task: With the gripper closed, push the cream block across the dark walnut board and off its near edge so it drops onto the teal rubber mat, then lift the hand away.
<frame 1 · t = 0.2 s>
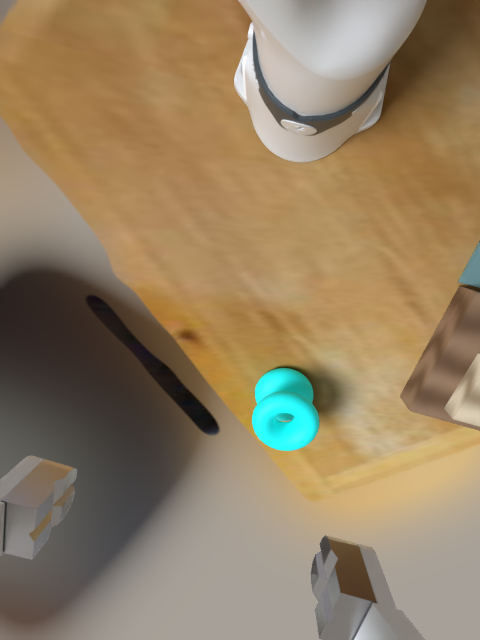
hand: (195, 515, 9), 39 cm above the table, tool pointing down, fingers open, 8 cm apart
walnut board: (476, 358, 47), on the table
donuts: (283, 389, 53), on the table
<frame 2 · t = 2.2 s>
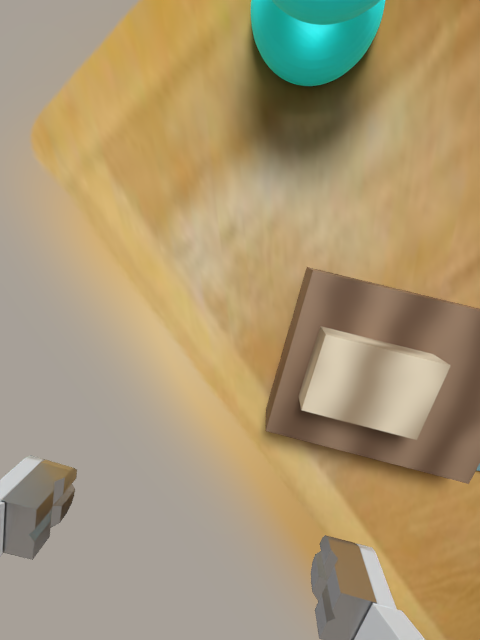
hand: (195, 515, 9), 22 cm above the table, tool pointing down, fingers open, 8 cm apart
walnut board: (379, 366, 30), on the table
cream block: (363, 375, 27), point 4 cm above the table, touching walnut board
donuts: (312, 23, 24), on the table
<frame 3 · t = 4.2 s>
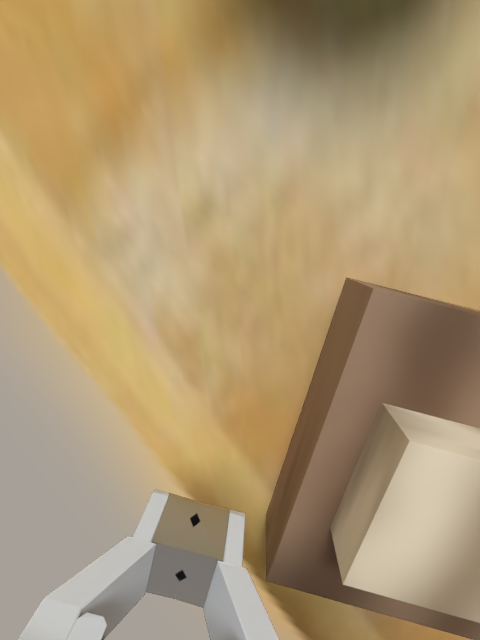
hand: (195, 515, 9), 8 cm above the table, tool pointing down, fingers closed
walnut board: (470, 454, 17), on the table
cream block: (463, 498, 13), point 4 cm above the table, touching walnut board
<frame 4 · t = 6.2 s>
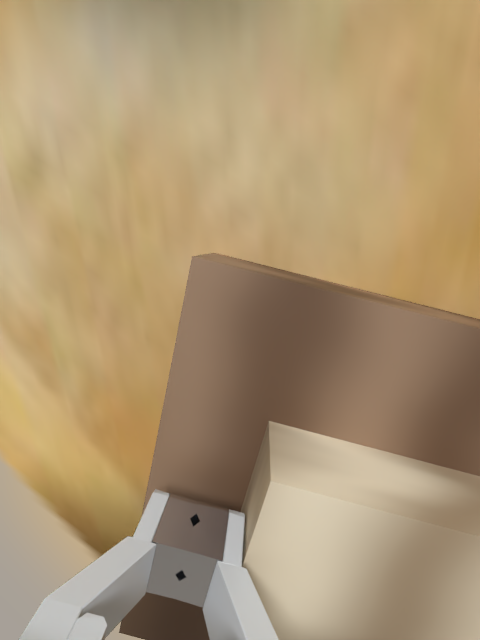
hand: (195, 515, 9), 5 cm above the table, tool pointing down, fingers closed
walnut board: (380, 469, 14), on the table
cream block: (380, 542, 10), point 4 cm above the table, touching walnut board
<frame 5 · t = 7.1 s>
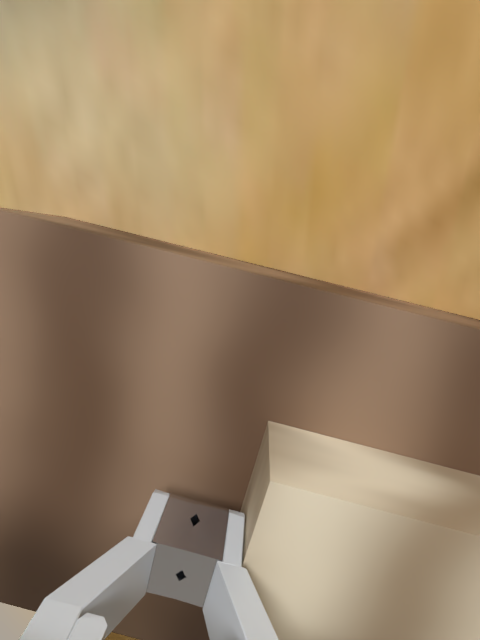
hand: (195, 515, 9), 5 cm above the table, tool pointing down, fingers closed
walnut board: (251, 436, 14), on the table
cream block: (381, 542, 10), point 4 cm above the table, touching gripper
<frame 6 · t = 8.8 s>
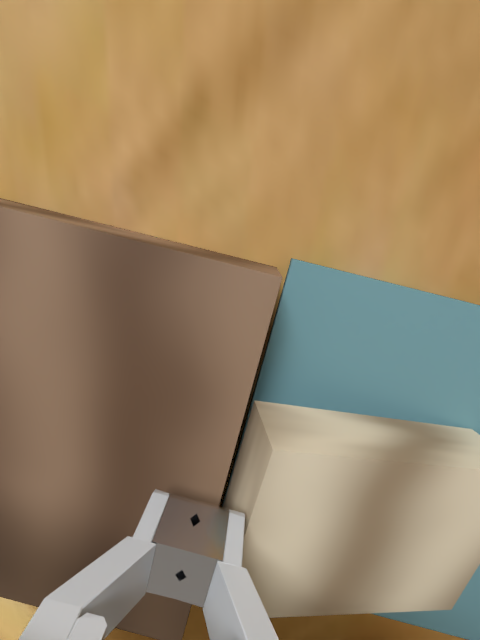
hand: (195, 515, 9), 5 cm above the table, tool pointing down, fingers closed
walnut board: (35, 378, 14), on the table
teal mat: (403, 473, 14), on the table
cream block: (344, 485, 13), point 2 cm above the table, tilted 14°, touching gripper
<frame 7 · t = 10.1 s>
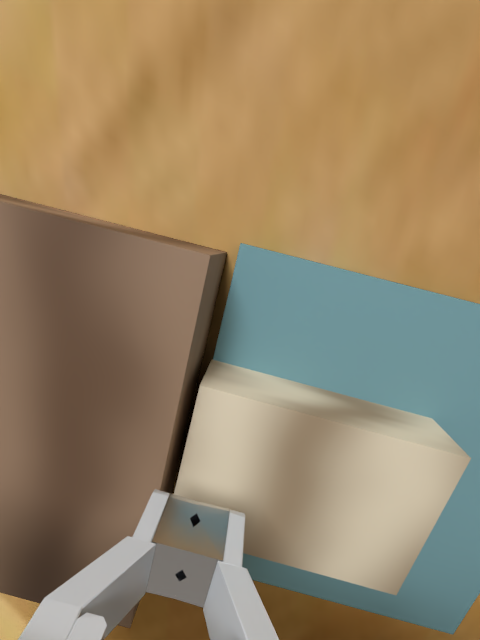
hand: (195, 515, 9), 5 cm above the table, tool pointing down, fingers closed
teal mat: (359, 460, 14), on the table
cream block: (297, 453, 14), resting on teal mat
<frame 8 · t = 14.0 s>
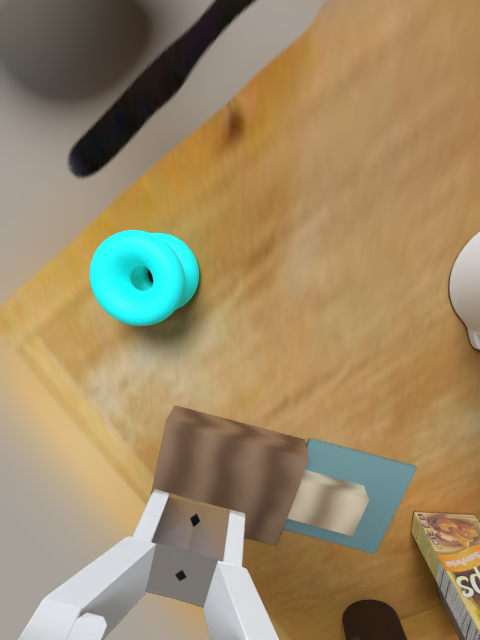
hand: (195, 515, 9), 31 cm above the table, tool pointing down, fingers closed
walnut board: (227, 466, 46), on the table
olive oil: (369, 617, 52), on the table
teal mat: (343, 496, 46), on the table
cream block: (324, 495, 45), resting on teal mat
donuts: (164, 272, 39), on the table
pillar candle: (466, 586, 48), on the table
candy box: (440, 521, 46), on the table
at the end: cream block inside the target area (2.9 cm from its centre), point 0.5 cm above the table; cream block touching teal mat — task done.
